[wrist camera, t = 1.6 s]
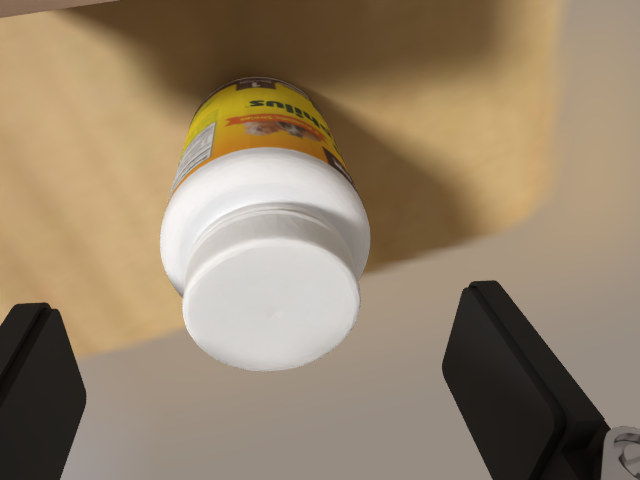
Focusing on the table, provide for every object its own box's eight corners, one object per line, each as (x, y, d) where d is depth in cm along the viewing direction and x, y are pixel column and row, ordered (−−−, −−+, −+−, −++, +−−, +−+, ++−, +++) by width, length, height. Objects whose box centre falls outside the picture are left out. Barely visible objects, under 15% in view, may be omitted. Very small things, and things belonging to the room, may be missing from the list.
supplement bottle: (354, 131, 19) (447, 290, 10) (271, 223, 21) (291, 421, 12) (245, 37, 16) (249, 147, 8) (160, 152, 18) (90, 340, 10)
